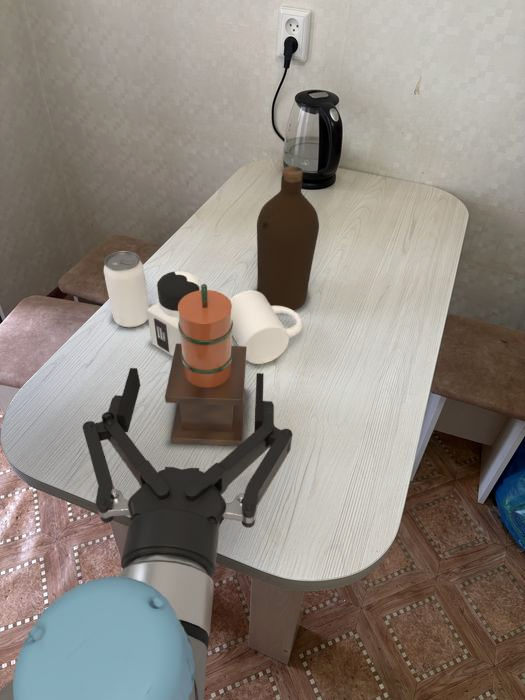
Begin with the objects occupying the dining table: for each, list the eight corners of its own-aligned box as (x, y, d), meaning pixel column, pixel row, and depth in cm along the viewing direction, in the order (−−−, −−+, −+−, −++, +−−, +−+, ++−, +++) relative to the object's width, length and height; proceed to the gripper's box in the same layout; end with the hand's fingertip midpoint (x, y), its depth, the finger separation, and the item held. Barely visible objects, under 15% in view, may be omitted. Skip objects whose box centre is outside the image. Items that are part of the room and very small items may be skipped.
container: (184, 364, 82) (178, 301, 73) (151, 344, 85) (141, 281, 76) (215, 340, 87) (213, 278, 78) (182, 321, 90) (177, 259, 81)
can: (118, 304, 93) (107, 248, 84) (153, 306, 93) (146, 250, 84) (109, 327, 88) (96, 270, 80) (146, 329, 88) (137, 272, 80)
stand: (171, 443, 71) (164, 396, 64) (180, 390, 78) (175, 343, 71) (242, 446, 71) (243, 400, 64) (245, 393, 78) (246, 346, 71)
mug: (242, 369, 82) (243, 332, 77) (223, 330, 89) (223, 294, 83) (309, 353, 86) (314, 316, 80) (286, 317, 92) (289, 281, 87)
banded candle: (179, 387, 65) (170, 301, 56) (186, 351, 70) (178, 266, 60) (231, 389, 65) (231, 303, 56) (234, 353, 70) (234, 269, 60)
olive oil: (298, 320, 92) (314, 190, 74) (245, 304, 94) (248, 176, 77) (316, 288, 99) (334, 164, 82) (266, 275, 101) (273, 151, 84)
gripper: (22, 588, 42) (90, 397, 58) (319, 599, 43) (307, 406, 58) (-8, 547, 37) (75, 349, 52) (331, 559, 37) (315, 359, 53)
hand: (197, 378), depth 55 cm, fingers open, 13 cm apart
